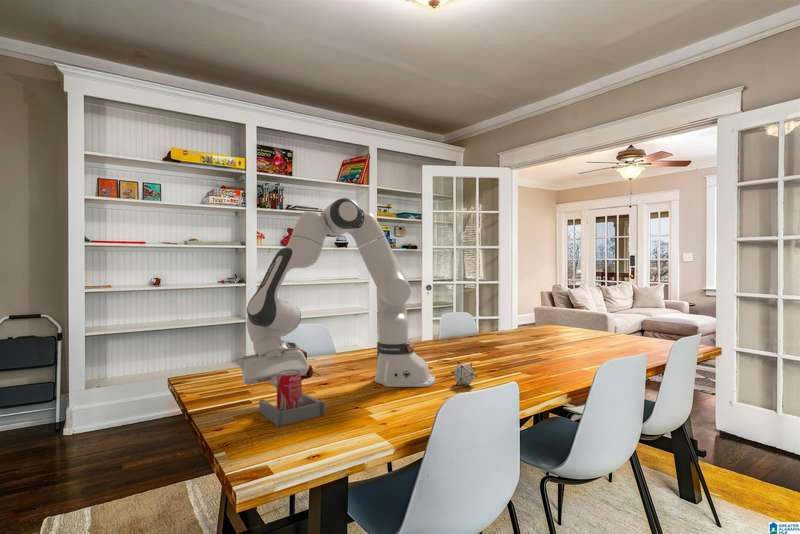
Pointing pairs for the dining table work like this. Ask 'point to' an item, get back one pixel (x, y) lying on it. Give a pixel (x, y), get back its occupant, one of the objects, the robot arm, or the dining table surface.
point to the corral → (293, 411)
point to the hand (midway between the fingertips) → (283, 390)
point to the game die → (464, 374)
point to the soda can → (289, 390)
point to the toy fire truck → (310, 370)
